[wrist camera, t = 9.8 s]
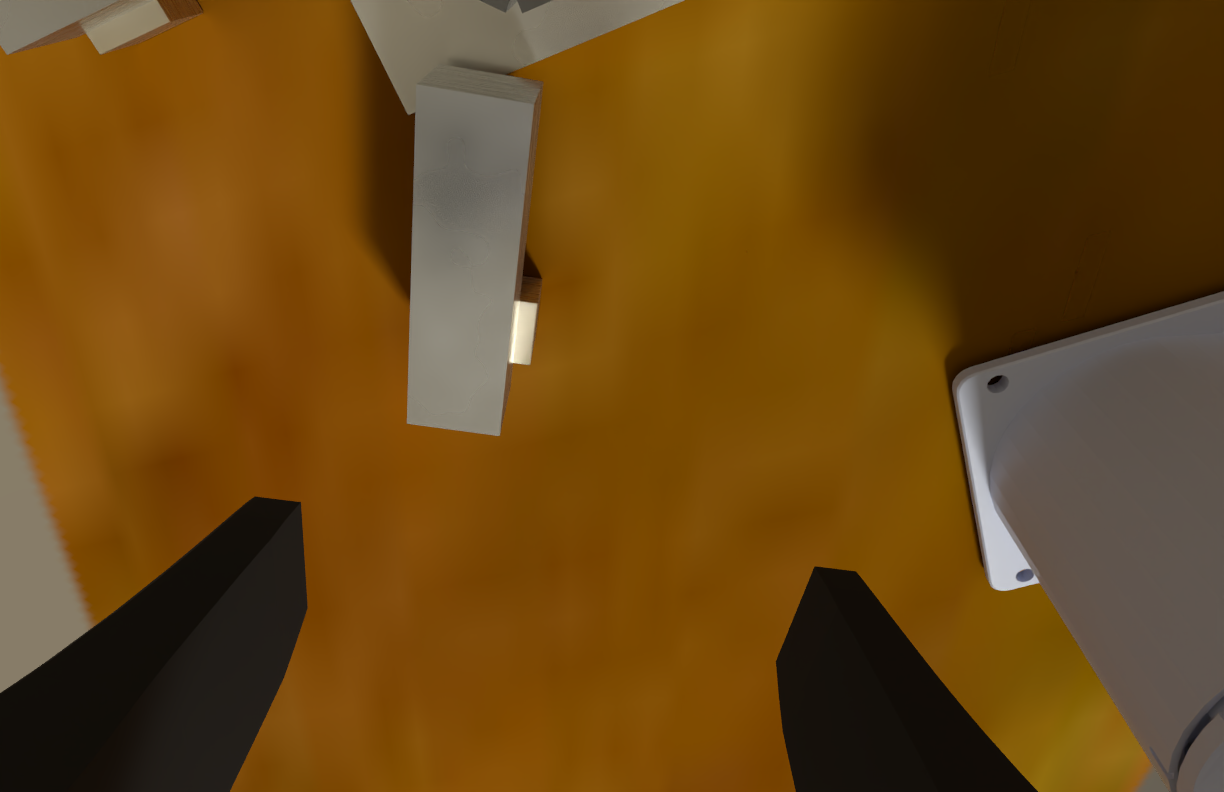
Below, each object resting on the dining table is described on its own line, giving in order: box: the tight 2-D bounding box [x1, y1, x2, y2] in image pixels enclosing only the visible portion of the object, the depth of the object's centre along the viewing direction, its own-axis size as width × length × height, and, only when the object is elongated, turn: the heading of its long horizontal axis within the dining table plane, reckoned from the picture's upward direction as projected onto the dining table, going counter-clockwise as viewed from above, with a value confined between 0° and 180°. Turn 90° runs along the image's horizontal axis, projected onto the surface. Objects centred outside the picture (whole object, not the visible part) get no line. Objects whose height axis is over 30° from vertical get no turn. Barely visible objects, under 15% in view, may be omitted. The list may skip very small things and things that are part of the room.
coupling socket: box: [0, 0, 684, 436], centre depth 14 cm, size 14×15×3 cm
